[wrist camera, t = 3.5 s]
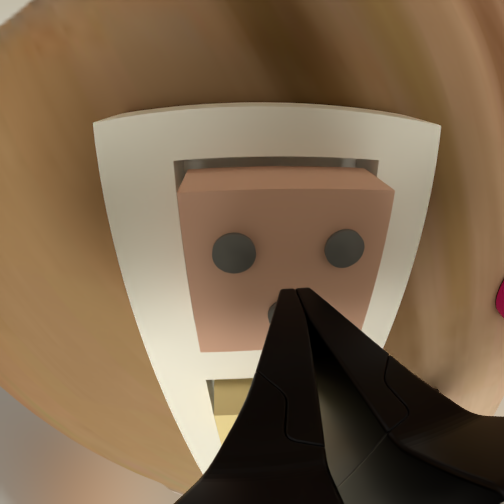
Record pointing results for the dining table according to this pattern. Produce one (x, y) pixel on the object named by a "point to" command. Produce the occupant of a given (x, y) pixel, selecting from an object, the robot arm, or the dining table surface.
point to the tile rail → (242, 155)
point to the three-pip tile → (278, 244)
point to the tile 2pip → (229, 402)
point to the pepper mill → (500, 300)
